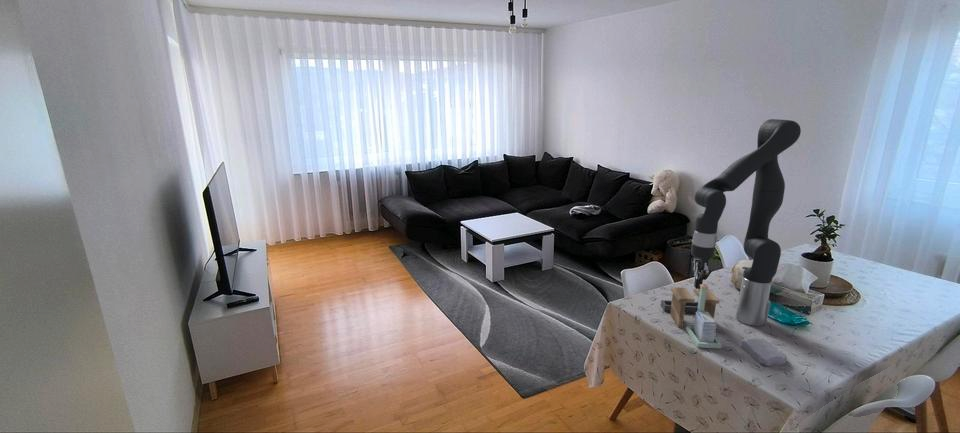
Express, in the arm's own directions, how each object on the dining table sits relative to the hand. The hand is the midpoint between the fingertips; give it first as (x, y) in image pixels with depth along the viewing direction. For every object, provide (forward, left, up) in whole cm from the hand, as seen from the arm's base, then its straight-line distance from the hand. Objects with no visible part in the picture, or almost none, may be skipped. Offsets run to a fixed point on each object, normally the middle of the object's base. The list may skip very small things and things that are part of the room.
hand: (697, 287), depth 160 cm
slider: (0, +11, -15) cm, 18 cm away
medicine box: (0, +10, -15) cm, 18 cm away
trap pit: (0, -12, -15) cm, 19 cm away
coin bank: (-36, -39, -15) cm, 55 cm away
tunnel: (0, -2, -15) cm, 15 cm away
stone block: (-17, +19, -15) cm, 29 cm away
